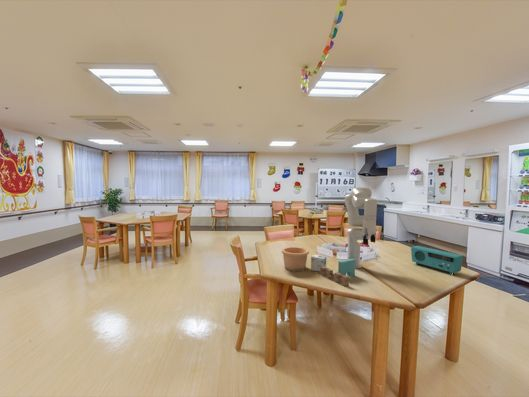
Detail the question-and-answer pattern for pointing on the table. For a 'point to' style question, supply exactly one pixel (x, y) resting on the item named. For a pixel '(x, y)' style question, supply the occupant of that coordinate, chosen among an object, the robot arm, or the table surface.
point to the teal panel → (347, 267)
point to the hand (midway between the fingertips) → (369, 243)
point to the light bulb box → (317, 262)
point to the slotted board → (334, 276)
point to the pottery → (295, 258)
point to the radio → (437, 259)
